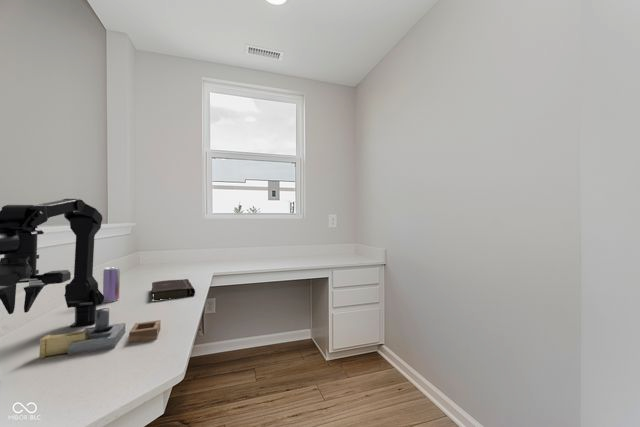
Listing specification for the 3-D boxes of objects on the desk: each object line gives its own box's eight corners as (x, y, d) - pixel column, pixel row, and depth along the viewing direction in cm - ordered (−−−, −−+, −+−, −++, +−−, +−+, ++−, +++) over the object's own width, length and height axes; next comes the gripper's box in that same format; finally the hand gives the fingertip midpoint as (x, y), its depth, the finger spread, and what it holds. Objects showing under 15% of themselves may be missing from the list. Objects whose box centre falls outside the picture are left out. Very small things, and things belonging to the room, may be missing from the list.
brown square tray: (135, 332, 85) (135, 323, 85) (160, 329, 88) (160, 320, 88) (129, 343, 78) (129, 332, 78) (156, 338, 81) (156, 328, 81)
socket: (85, 337, 82) (86, 328, 82) (125, 332, 86) (125, 322, 86) (68, 355, 71) (68, 344, 71) (114, 347, 75) (114, 337, 75)
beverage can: (110, 303, 118) (110, 269, 119) (99, 302, 119) (100, 268, 120) (122, 299, 124) (123, 267, 125) (112, 298, 125) (112, 266, 126)
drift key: (45, 353, 72) (46, 335, 72) (88, 346, 76) (88, 329, 76) (39, 358, 69) (40, 339, 69) (84, 351, 73) (84, 333, 73)
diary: (189, 287, 151) (189, 278, 151) (195, 297, 129) (195, 286, 130) (149, 291, 141) (150, 281, 141) (149, 303, 120) (150, 291, 120)
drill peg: (97, 339, 81) (97, 309, 81) (110, 337, 82) (110, 307, 83) (93, 343, 78) (93, 312, 78) (106, 341, 79) (107, 310, 80)
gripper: (-60, 258, 58) (-64, 330, 58) (52, 253, 66) (50, 317, 66) (-22, 253, 69) (-25, 314, 68) (72, 249, 76) (70, 305, 76)
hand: (18, 312), depth 69 cm, fingers open, 3 cm apart
